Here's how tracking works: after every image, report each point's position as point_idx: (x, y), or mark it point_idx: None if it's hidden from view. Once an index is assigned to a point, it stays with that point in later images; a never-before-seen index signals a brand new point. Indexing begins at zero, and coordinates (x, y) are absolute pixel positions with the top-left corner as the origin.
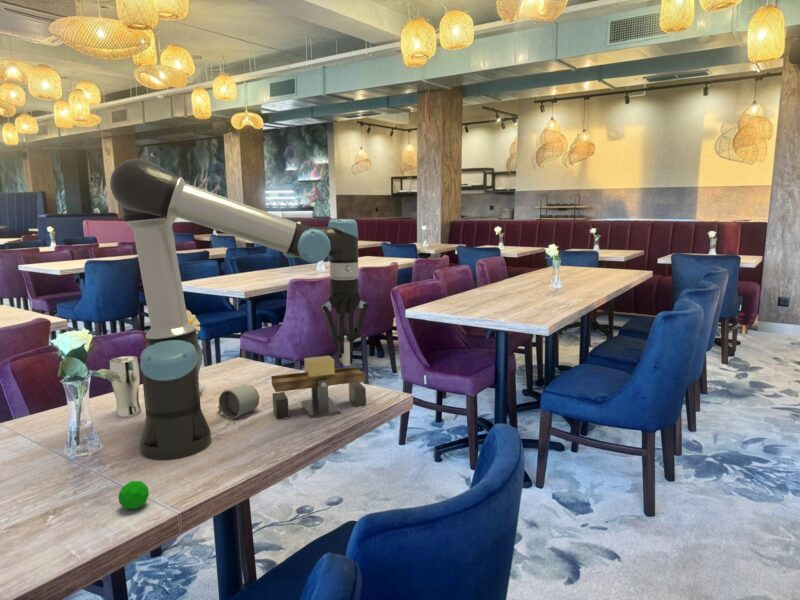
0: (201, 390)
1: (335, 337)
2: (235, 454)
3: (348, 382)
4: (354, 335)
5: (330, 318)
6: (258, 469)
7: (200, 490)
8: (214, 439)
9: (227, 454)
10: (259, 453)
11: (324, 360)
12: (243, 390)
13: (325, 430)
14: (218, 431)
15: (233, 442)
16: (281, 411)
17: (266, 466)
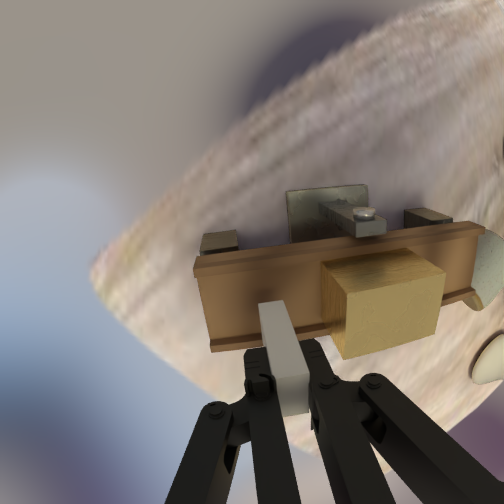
0: (477, 361)
1: (377, 385)
2: (476, 75)
3: (265, 248)
4: (239, 421)
5: (464, 473)
6: (442, 7)
7: (484, 7)
8: (500, 153)
9: (484, 82)
10: (450, 56)
11: (387, 291)
12: (497, 268)
13: (339, 93)
14: (496, 185)
15: (483, 124)
16: (426, 212)
17: (434, 8)
